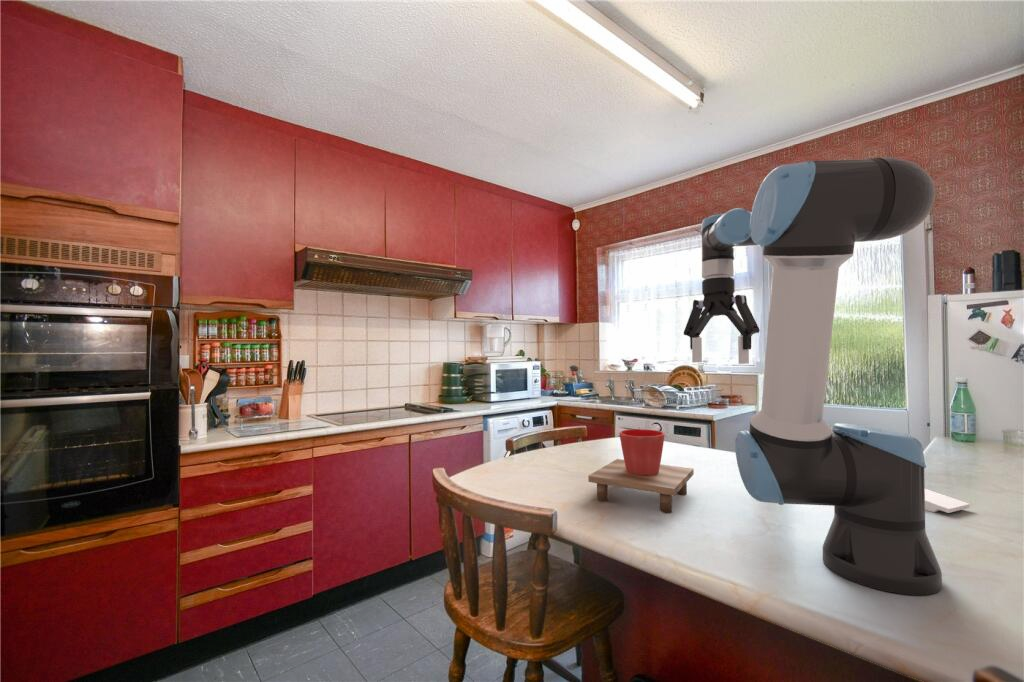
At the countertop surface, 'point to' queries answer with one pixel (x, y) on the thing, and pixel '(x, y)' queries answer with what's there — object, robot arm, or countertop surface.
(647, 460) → the flower pot
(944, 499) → the wall bracket
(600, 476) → the walnut stool
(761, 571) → the countertop surface
